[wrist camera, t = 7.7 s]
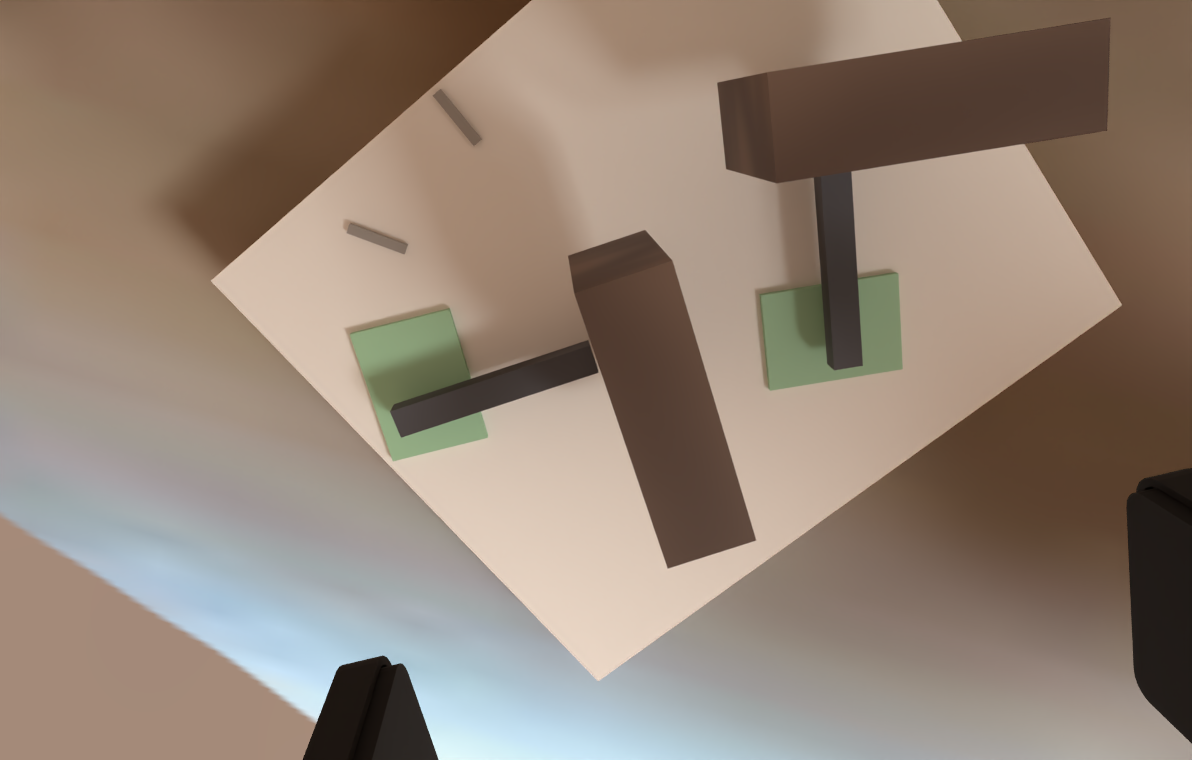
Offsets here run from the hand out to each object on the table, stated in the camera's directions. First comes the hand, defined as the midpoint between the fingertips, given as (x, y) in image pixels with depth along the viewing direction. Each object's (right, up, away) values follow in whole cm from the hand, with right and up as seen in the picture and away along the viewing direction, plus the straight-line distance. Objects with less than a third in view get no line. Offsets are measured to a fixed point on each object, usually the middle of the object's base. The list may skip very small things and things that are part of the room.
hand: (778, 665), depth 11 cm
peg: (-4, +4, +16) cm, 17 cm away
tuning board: (0, +7, +19) cm, 20 cm away
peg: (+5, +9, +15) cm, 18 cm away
